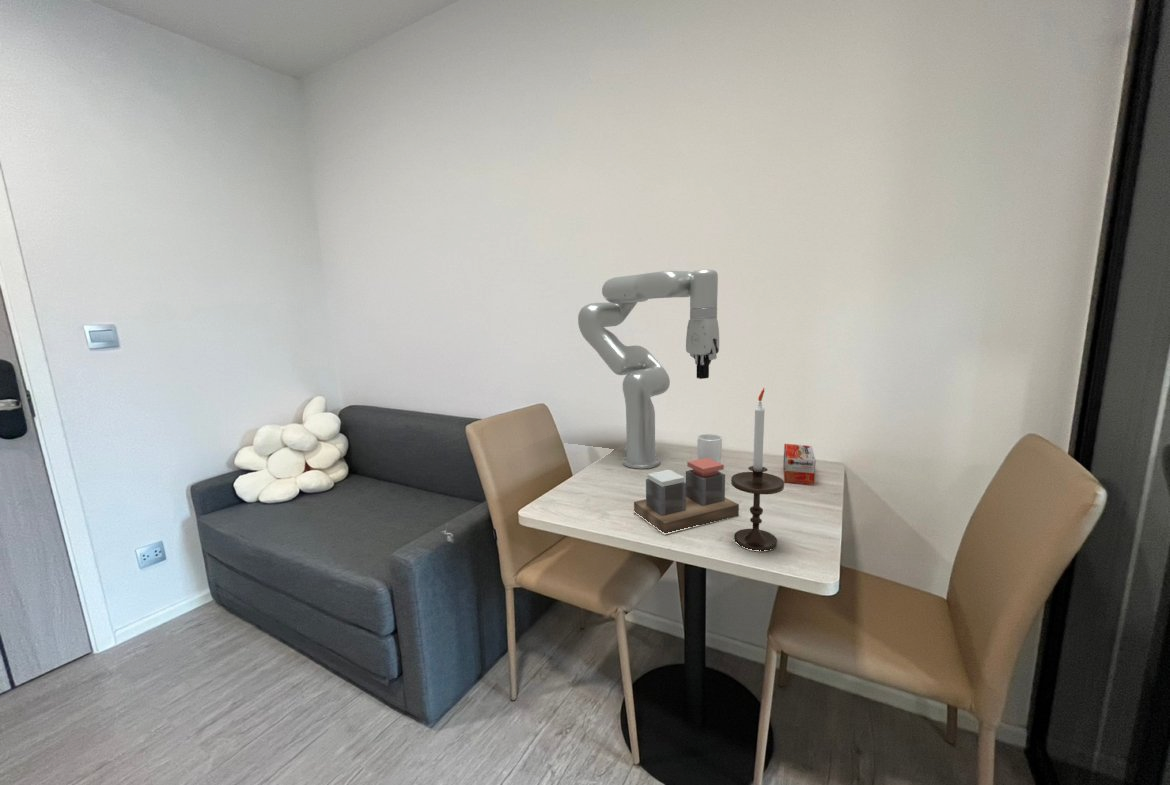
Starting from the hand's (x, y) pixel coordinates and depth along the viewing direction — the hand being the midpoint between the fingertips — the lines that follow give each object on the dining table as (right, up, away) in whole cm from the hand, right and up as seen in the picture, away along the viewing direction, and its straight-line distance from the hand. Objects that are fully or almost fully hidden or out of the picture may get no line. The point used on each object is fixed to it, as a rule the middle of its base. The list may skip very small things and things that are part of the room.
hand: (702, 378), depth 141 cm
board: (-9, -35, -18) cm, 41 cm away
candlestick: (+4, -38, -33) cm, 50 cm away
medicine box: (+30, -30, +6) cm, 43 cm away
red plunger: (-3, -30, -17) cm, 35 cm away
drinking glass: (+2, -32, -1) cm, 32 cm away
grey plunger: (-14, -33, -21) cm, 42 cm away
